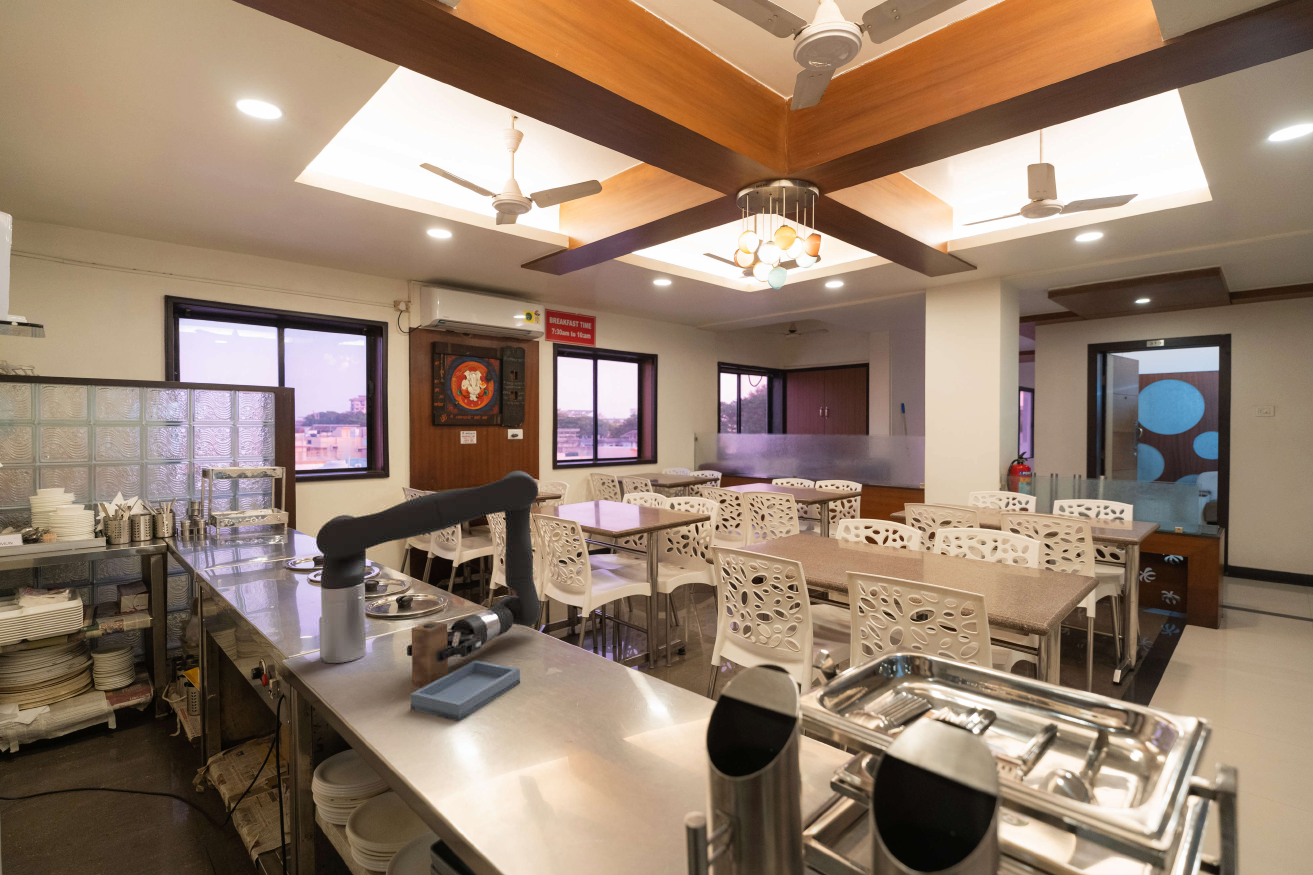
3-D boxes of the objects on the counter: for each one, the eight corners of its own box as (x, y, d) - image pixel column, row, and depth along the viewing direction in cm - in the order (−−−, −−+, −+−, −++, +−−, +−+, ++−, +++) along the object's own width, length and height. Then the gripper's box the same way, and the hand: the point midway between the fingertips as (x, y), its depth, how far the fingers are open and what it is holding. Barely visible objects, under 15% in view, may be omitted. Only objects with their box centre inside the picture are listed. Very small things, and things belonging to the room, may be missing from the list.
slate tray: (411, 709, 116) (410, 693, 116) (475, 673, 133) (475, 660, 133) (459, 720, 111) (459, 704, 111) (520, 682, 128) (519, 668, 128)
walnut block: (412, 684, 128) (411, 627, 127) (430, 675, 132) (429, 620, 132) (430, 688, 125) (429, 630, 125) (448, 679, 130) (447, 623, 130)
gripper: (452, 610, 145) (397, 632, 130) (500, 617, 139) (448, 641, 124) (452, 641, 145) (398, 666, 130) (500, 650, 139) (449, 677, 124)
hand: (422, 654), depth 127 cm, fingers open, 8 cm apart
